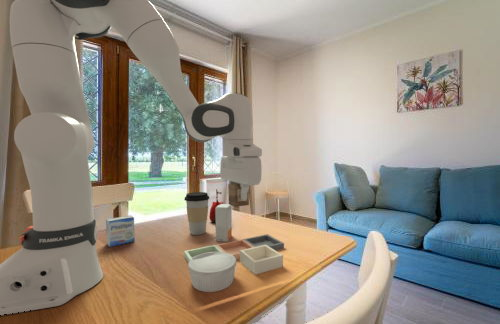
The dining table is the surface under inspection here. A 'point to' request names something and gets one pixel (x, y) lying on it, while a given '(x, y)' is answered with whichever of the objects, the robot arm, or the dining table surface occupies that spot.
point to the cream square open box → (261, 259)
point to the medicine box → (120, 230)
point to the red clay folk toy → (212, 210)
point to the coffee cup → (197, 211)
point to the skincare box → (223, 222)
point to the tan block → (236, 195)
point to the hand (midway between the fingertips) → (238, 197)
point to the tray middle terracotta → (234, 247)
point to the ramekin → (212, 271)
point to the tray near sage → (200, 251)
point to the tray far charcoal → (265, 241)
